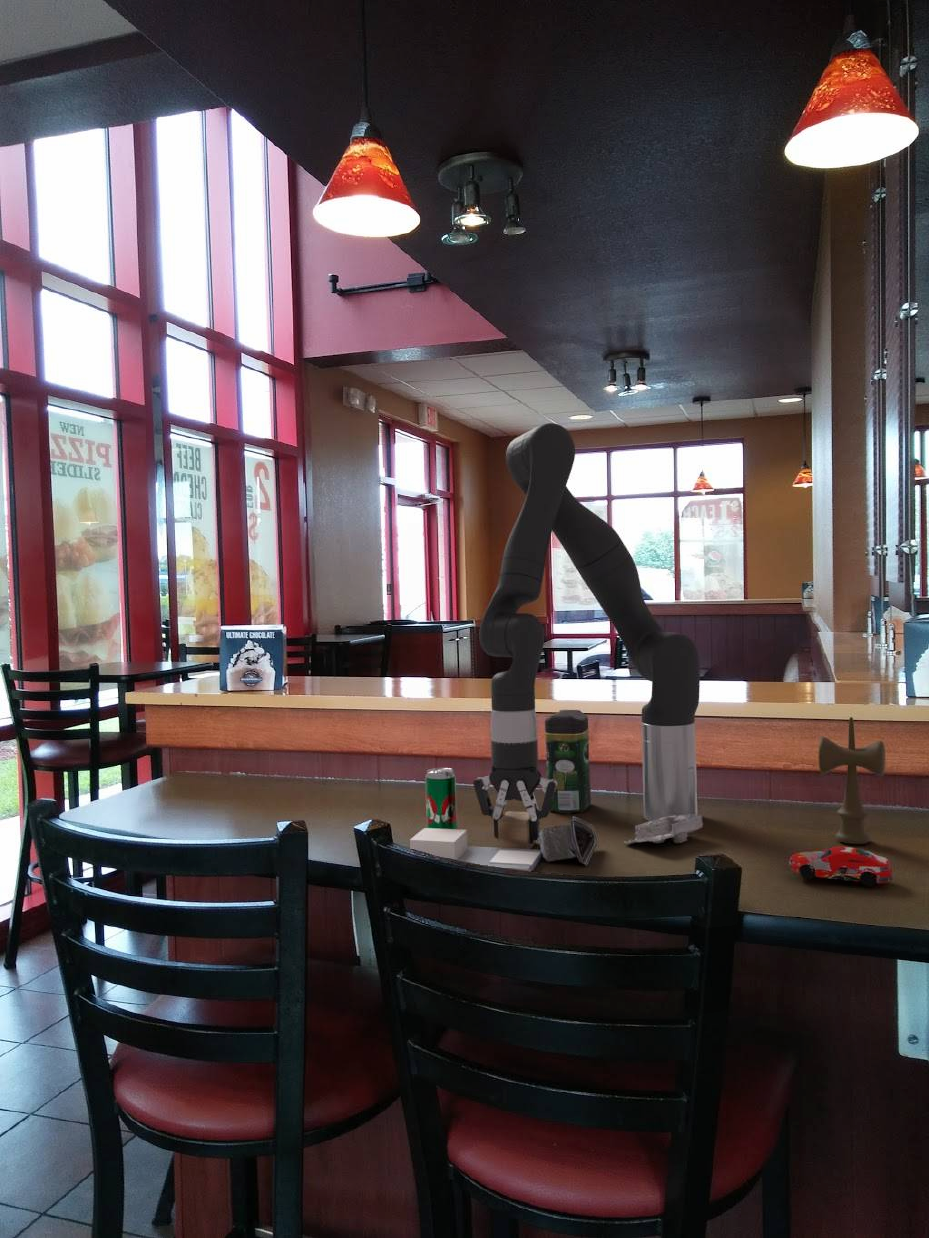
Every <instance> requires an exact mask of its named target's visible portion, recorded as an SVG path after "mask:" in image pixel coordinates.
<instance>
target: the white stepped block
mask: <svg viewBox="0 0 929 1238" xmlns="http://www.w3.org/2000/svg"><path fill="white" fill-rule="evenodd" d="M410 849H416V850H419V851H423V852H426V853H429V854H432V855H435V856H440V857H444V858H452V859H458V860H463V861H467V862H471V863H475V864H480V865H488V866H495V867H501V868H513V869H520V870H533V871H534V870H535V868H536V867H537V865H538V864H539V862H540V860H541V859H542V853H541V849H534V848H533V849H532V848H531V849H515V848H499V847H495V846H494V847H492V846H491V847H490V846H474V845H472V846H471V845H470V846H469V845H468V830H467V829H458V828H457V829H436V828H427V827H424V828H422V829H421V830H419V832H418V833H416V834H415V835H414V836H413V837H412V838H410V839H409V850H410Z"/></svg>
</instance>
